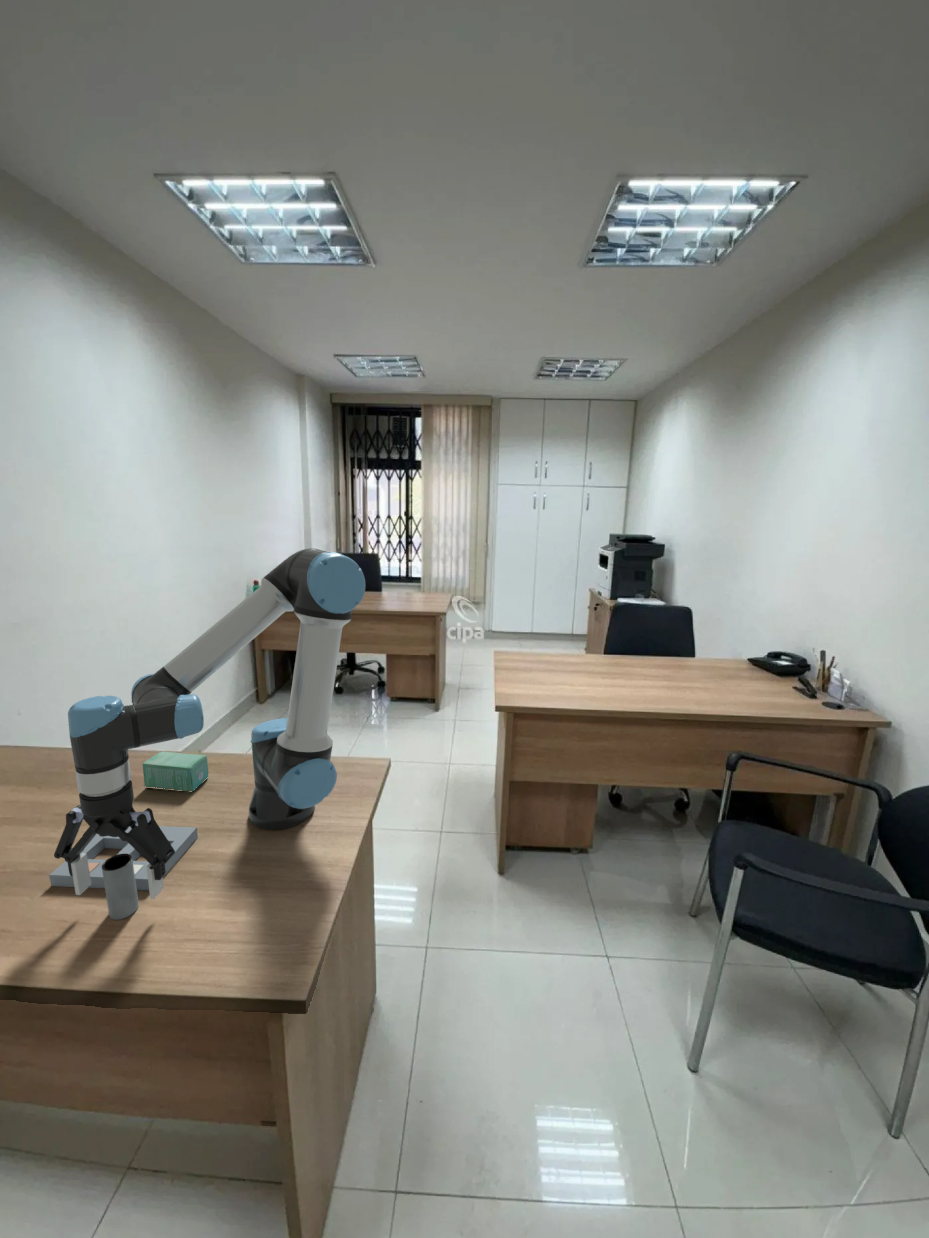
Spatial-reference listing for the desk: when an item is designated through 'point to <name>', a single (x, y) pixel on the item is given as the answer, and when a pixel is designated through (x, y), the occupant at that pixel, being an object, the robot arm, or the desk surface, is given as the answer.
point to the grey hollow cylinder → (120, 886)
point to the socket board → (175, 835)
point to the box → (175, 771)
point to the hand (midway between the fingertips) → (120, 891)
